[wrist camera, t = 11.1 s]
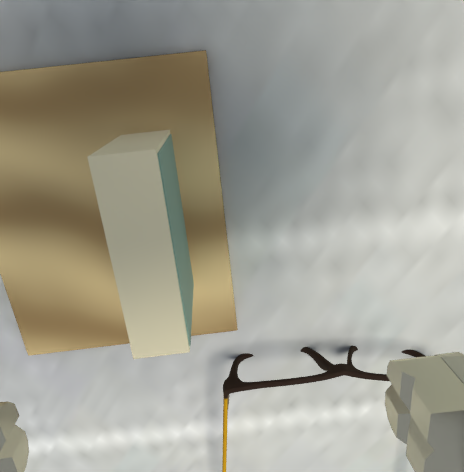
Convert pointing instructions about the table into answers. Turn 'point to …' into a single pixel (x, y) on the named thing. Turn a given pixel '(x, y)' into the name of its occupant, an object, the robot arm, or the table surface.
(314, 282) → the table surface
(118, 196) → the card box
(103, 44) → the table surface
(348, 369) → the eyeglasses
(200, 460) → the table surface
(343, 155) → the table surface
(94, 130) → the mat
